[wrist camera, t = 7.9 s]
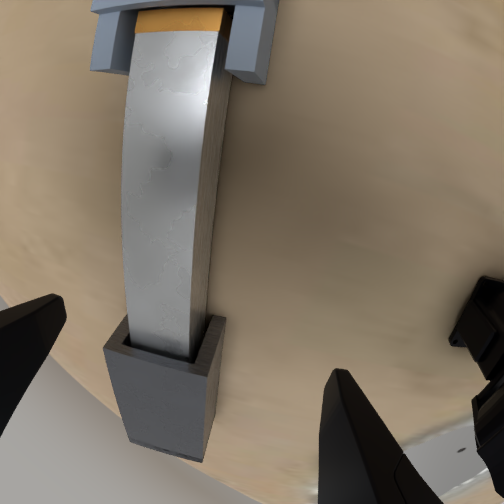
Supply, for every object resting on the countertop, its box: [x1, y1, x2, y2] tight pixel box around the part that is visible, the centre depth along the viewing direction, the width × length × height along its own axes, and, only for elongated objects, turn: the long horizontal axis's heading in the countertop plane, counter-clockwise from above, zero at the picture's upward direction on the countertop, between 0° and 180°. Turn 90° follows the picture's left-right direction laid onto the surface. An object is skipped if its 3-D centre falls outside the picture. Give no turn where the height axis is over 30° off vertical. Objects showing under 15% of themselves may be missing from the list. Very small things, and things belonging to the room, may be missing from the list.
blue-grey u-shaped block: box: [90, 0, 279, 85], centre depth 12 cm, size 8×6×6 cm
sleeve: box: [103, 313, 226, 463], centre depth 23 cm, size 7×13×6 cm, turn 172°
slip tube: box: [121, 8, 233, 364], centre depth 17 cm, size 4×22×4 cm, turn 172°
